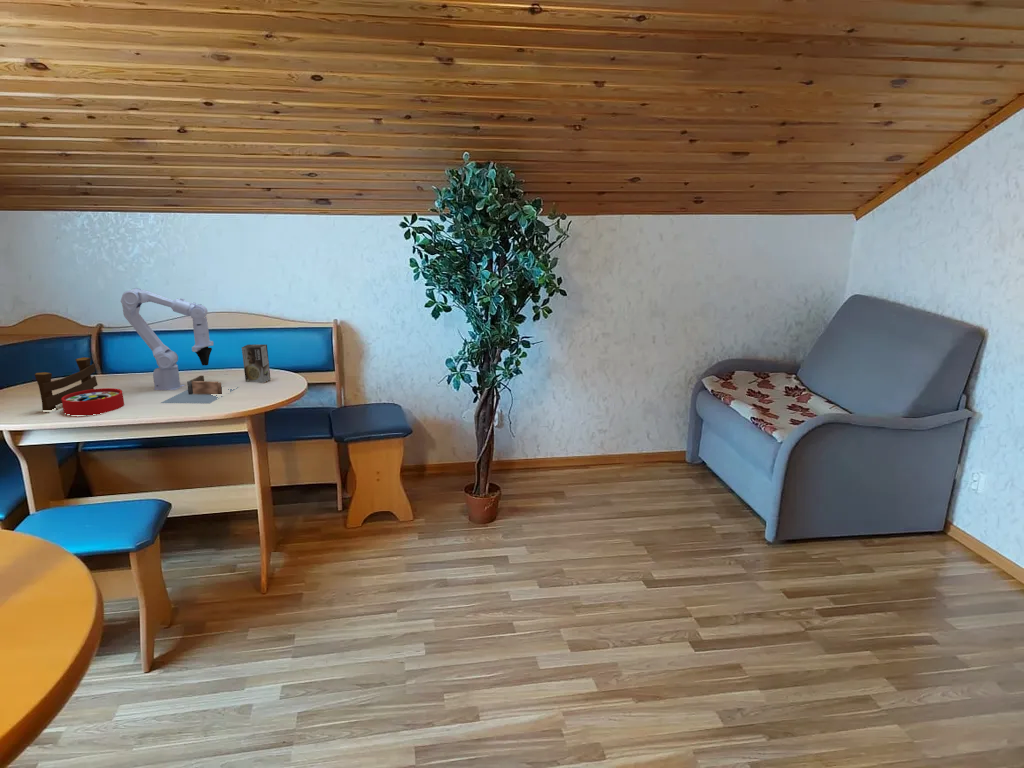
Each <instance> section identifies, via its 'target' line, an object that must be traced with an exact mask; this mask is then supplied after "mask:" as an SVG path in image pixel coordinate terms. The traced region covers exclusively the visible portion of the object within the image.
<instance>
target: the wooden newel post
mask: <svg viewBox="0 0 1024 768" xmlns="http://www.w3.org/2000/svg"><path fill="white" fill-rule="evenodd" d="M222 387H223V386H222V382H219V381H208V380H206V381H205V380H204V381H193V382H192V388H193V394H222Z"/></svg>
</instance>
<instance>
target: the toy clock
mask: <svg viewBox="0 0 1024 768" xmlns="http://www.w3.org/2000/svg"><path fill="white" fill-rule="evenodd" d="M61 404H62V411H63V414H64V413H66V414H70V415H93V414H100V413H105V414H106V413H109V412H113V411H117V410H119V409H121V408H123V407H124V406H125V401H124V393H123V390H122V389H119V388H109V387H108V388H107V387H106V388H105V387H103V388H94V389H91V390H84V391H79V392H74V393H71V394H68V395H65V396H63V397H62V403H61ZM100 415H101V414H100ZM93 416H94V415H93Z"/></svg>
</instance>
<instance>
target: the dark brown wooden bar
mask: <svg viewBox="0 0 1024 768" xmlns="http://www.w3.org/2000/svg"><path fill="white" fill-rule="evenodd" d="M186 381H187V380H186ZM193 381H205V377H204V375H199V376H197V377H195V378H193V379H190V380H188V381H187V382H186V384H187V390H188V394H193V388H192V382H193Z"/></svg>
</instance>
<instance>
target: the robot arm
mask: <svg viewBox="0 0 1024 768" xmlns="http://www.w3.org/2000/svg"><path fill="white" fill-rule="evenodd" d="M149 302H151V303H152V304H153V303H154V304H157V305H161V306H164V307H168V308H171V311H172V312H175V313H178V314H180V315H184V316H186V317H190V318H191V319H192V327H193V328H192V329H193V336H194V345H193V346H191V351H192V352H194V353H196V355H197V356H198V358H199V361H200V363H201V365H202V366H209V361H210V356H211V352H212V351H213V348H212V347H211V346H214V340H211V339H210V333H209V332H210V331H209V324H208V318H207V315H208V309H207V307H206V306H205V305H204V304H203V305H202V304H201V303H200V304H199V303H196V302H190V301H187V300H185V298H183V297H181V298H176V299H172V298H169V297H166V296H163V295H160V294H157V293H155V292H152V291H149V290H146V289H141V288H137V287H135V288H132V289H129V290H125V291H124V292H123V293H122V296H121V299H120V303H121V305H122V311H123V312H122V313H123V317H124V318H125V319H126V320H127V322H128V323H129V324H130V326H131V327H132V328H133V329H134V330H135V332H136V333H137V334H138V335H139V337H140V338H141V339H142V340H143V342H145V344H146V345H147V346H148V348H149V349H150V350H151V351H152V355H153V357H154V358H155V360H156V361H155V362H156V365H157V366H158V367H156V368H155V369H154V370H153V373H152V376H153V377H152V378H153V385H154V389H153V390H154V391H176V390H179V389H180V387H181V388H183V387H185V384H181V380H180V373H179V365H178V364H177V363H178V361H179V356H178V354H177V352H175V351H173V350H171V348H169V346H167V345H165V344H164V343H163V341H162V340H161V339H160V338H159V336H158V335H157V334H156V333H155V331H153V329H152V328H151V327H150V326H149V323H148V322H147V321H146V320H145V319H144V318H143V317H142V315H141V314H140V311H141V307H142V304H143V303H145V304H146V303H149ZM182 386H183V387H182Z"/></svg>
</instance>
